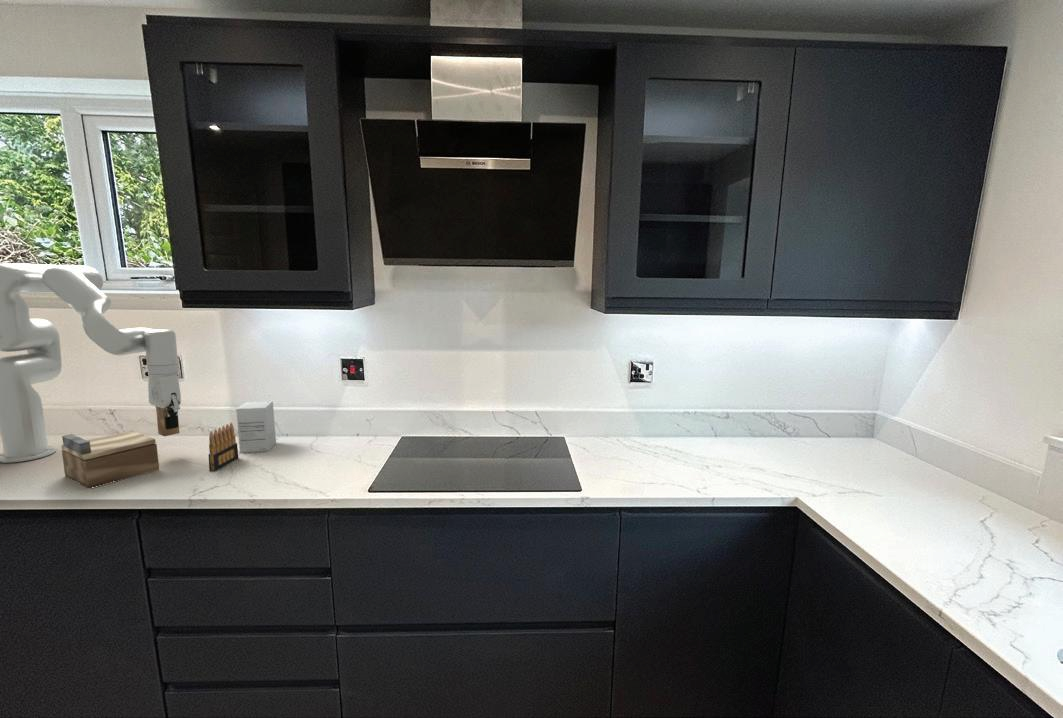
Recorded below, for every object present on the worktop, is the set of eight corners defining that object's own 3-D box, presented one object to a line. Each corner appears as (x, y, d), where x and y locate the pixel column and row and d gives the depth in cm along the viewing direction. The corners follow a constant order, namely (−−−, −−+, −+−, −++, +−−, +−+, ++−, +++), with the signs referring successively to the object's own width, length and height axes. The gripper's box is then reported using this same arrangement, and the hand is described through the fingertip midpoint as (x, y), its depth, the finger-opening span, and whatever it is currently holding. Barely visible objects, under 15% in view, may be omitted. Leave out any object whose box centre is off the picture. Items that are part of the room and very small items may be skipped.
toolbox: (65, 476, 133) (61, 450, 132) (134, 458, 147) (131, 435, 146) (89, 489, 126) (85, 461, 124) (159, 469, 139) (156, 444, 138)
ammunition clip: (233, 458, 149) (230, 421, 147) (238, 458, 149) (235, 421, 147) (209, 471, 139) (205, 432, 137) (215, 471, 139) (211, 432, 137)
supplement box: (247, 444, 162) (244, 401, 160) (276, 442, 164) (273, 400, 162) (238, 453, 153) (235, 408, 151) (269, 451, 156) (266, 407, 153)
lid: (61, 449, 132) (59, 435, 131) (131, 434, 146) (130, 421, 145) (84, 460, 125) (82, 444, 124) (155, 443, 138) (154, 429, 138)
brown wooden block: (158, 434, 147) (155, 402, 146) (173, 430, 151) (170, 400, 149) (164, 436, 145) (162, 404, 144) (179, 433, 149) (176, 402, 147)
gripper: (135, 368, 146) (141, 425, 148) (162, 374, 138) (168, 435, 140) (163, 365, 152) (168, 419, 155) (191, 371, 144) (195, 428, 147)
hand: (168, 426), depth 148 cm, fingers closed on brown wooden block, 4 cm apart
